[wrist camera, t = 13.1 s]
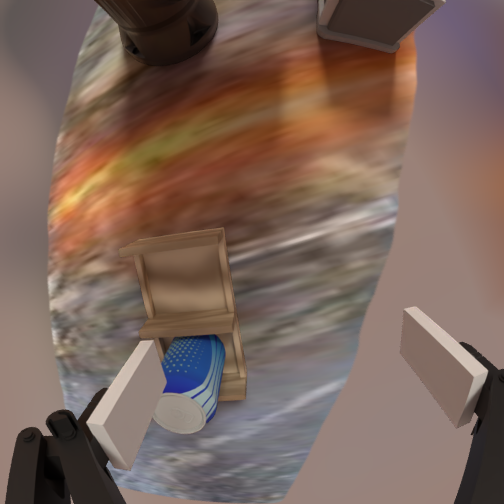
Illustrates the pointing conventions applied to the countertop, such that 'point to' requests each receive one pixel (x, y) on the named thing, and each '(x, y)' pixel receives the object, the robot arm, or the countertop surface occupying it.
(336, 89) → the countertop surface
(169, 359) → the beer can
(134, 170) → the countertop surface
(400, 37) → the alarm clock
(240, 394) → the rack
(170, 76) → the countertop surface
